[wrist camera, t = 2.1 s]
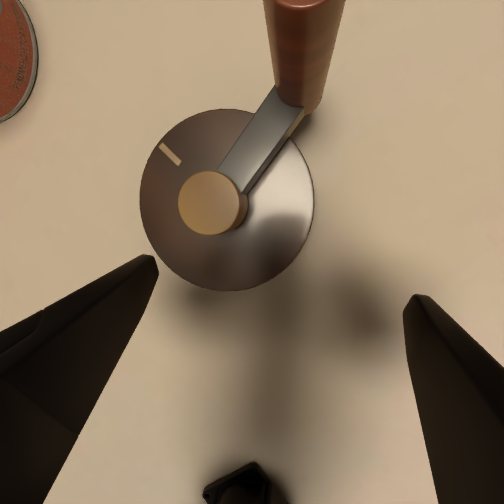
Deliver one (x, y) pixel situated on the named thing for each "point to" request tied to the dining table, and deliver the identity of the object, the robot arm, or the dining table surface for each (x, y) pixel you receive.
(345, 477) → the dining table surface
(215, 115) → the crank base
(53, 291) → the dining table surface
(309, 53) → the crank handle
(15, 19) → the canned food
